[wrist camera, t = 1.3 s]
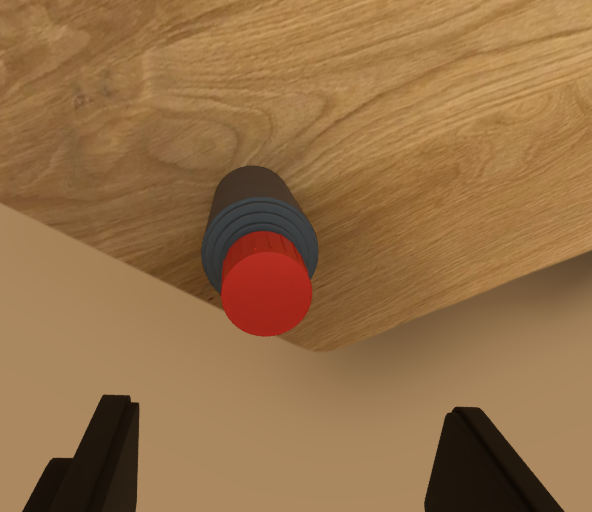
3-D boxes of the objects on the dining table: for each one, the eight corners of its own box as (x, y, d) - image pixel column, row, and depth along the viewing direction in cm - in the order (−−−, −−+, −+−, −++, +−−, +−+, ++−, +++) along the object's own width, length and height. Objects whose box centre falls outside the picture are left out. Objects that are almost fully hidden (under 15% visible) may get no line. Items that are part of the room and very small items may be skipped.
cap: (219, 303, 24) (217, 335, 20) (225, 226, 23) (224, 246, 19) (297, 307, 24) (306, 340, 21) (307, 233, 23) (319, 254, 20)
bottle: (211, 238, 39) (187, 354, 21) (216, 161, 38) (196, 213, 19) (286, 245, 40) (328, 360, 22) (295, 170, 39) (349, 227, 20)
